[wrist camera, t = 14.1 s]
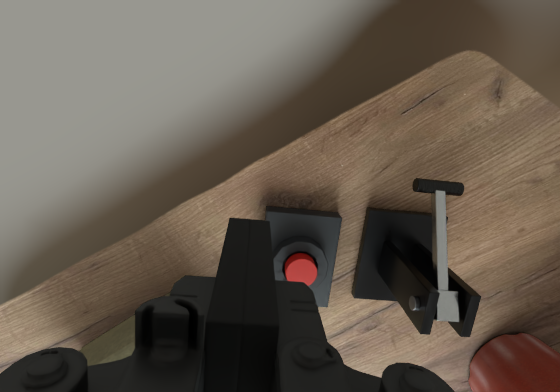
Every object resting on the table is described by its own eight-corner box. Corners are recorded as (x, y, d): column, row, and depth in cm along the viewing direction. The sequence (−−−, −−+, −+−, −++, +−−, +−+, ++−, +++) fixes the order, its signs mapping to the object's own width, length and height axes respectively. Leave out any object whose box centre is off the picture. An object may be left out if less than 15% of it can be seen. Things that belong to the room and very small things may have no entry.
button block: (266, 205, 45) (267, 215, 41) (338, 212, 46) (345, 222, 42) (256, 293, 48) (256, 310, 44) (324, 298, 49) (330, 315, 45)
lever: (410, 181, 40) (420, 175, 38) (453, 185, 40) (466, 179, 38) (411, 317, 37) (422, 319, 34) (458, 320, 37) (473, 323, 35)
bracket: (366, 207, 46) (412, 252, 32) (443, 214, 47) (518, 260, 33) (351, 293, 49) (387, 367, 35) (423, 298, 50) (484, 372, 36)
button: (286, 251, 43) (287, 257, 41) (316, 253, 43) (319, 260, 41) (282, 279, 44) (283, 286, 42) (312, 281, 44) (315, 288, 42)
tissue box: (197, 274, 47) (168, 360, 31) (240, 329, 49) (233, 434, 34) (79, 348, 48) (-2, 463, 33) (127, 397, 51) (71, 526, 36)
